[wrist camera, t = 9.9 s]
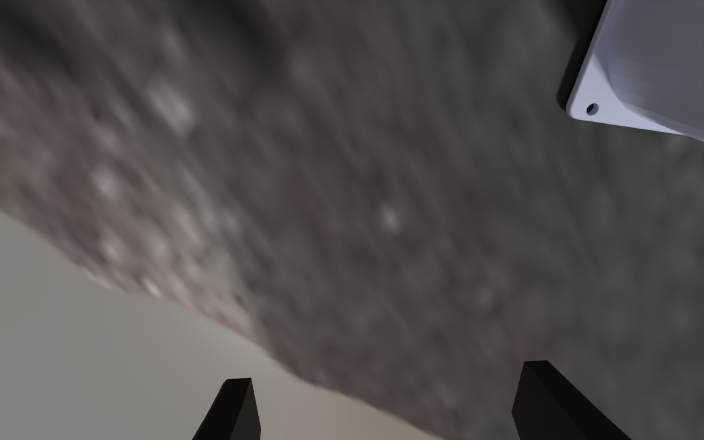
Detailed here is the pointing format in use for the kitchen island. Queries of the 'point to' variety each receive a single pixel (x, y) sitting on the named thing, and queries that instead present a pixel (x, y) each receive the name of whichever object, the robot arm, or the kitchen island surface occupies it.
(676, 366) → the kitchen island surface
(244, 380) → the robot arm
